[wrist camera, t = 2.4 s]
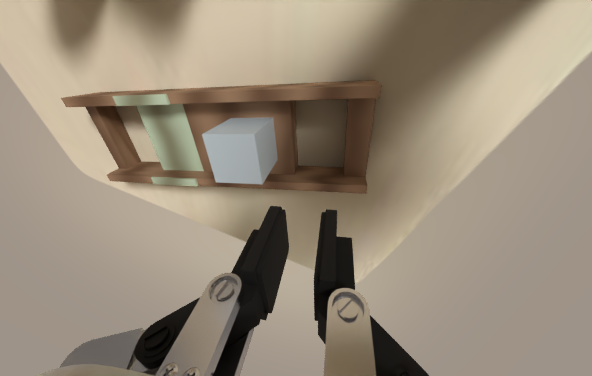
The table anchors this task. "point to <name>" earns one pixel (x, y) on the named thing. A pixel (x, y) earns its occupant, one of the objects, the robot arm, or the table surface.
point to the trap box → (219, 108)
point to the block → (242, 150)
